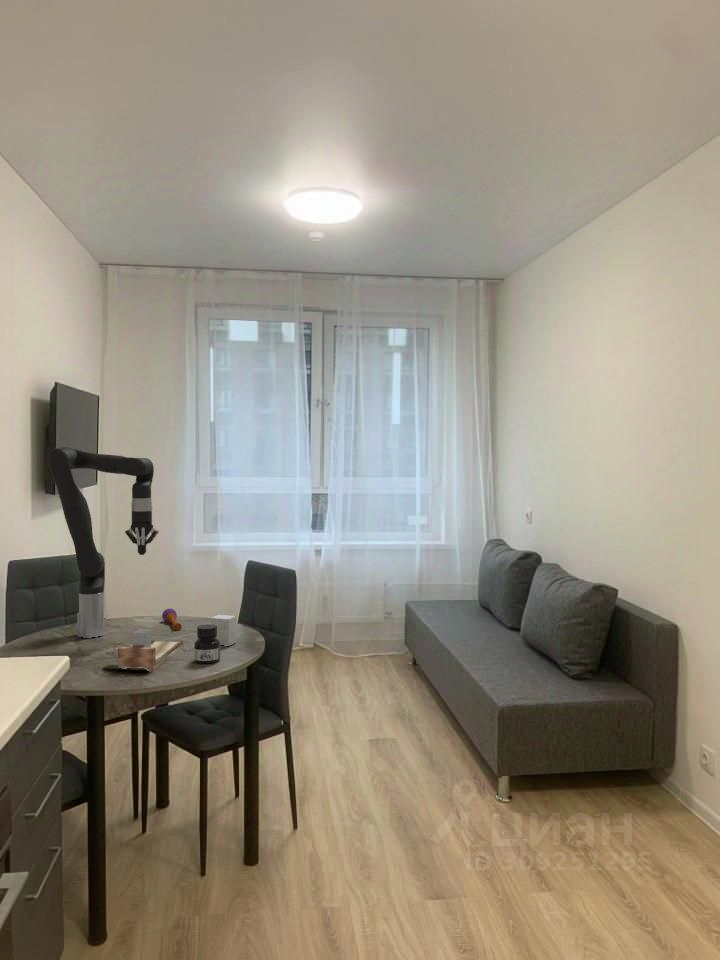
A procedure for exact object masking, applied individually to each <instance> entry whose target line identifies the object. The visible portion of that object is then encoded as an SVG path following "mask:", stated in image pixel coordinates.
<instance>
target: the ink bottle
mask: <svg viewBox="0 0 720 960" xmlns="http://www.w3.org/2000/svg"><path fill="white" fill-rule="evenodd" d="M196 637H197V639H196V640H195V641H194V643H193V647H194V648H193V652H194V653H193V661H194V662H195V663H197V664H201V665H202V664H203V665H207V664H215V663H217V662H219V661H220V660H221V646H220V641H219V640H218V639H217V638H216V637H217V626H216V625H212V624H211V623H208V624H207V623H206V624H201V625H198V626H197V628H196Z"/></svg>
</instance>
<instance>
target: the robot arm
mask: <svg viewBox="0 0 720 960" xmlns="http://www.w3.org/2000/svg"><path fill="white" fill-rule="evenodd" d="M46 461H47V465H48V467H49V471H50V473H51V476H52V478H53V481H54V483H55V486H56V489H57V493H58V497H59V499H60V504H61V507H62V511H63V514H64V515H63V516H64V519H65V522H66V525H67V528H68V531H69V534H70V537H71V539H72V543H73V546H74V551H75V556H76V558H75V559H76V564H77V568H78V571H79V586H78V602H79V603H78V605H79V606H78V608H79V609H78V610H79V611H78V612H77V613H76V625H77V626H76V629H77V630H76V632H77V633H76V637H77V636H78V637H77V638H81V637H83V638H84V639H93V638H92V637H96V638H99V637H98V636H101V637H103V636H105V581H106V579H105V576H106V575H105V574H106V572H105V571H106V570H105V569H106V567H105V566H106V565H105V564H106V563H105V557H104V555H103V554H102V553H101V552H99V551H98V550H97V547H96V544H95V540H94V535H93V522H92V515H91V512H90V508H89V504H88V502H87V499H86V498H85V496H84V494H83V493H82V491H81V490H80V489H79V487H78V485H77V484H76V482H75V480H74V476H73V473H72V470H77V469H78V470H80V469H87V470H89V469H90V470H95V471H99V472H102V473H107V474H117V475H126V476H133V477H135V482H134V483H133V484H132V485H131V486H132V487H131V497H132V498H131V524H130V528H129V529H127V530H125V531H124V533H125V535H126V536H127V537H128V538H129V539H130V541H131V543H132V544H135V545H137V554H138V555H140V556H144V555H145V554H147V545H148V544H151V543H152V541H154V540H155V538H156V536H157V535H158V534H159V530H157V529H155V528H154V525H153V502H152V484H153V478H154V471H155V470H154V469H155V467H154V464H153V461H152V460H151V459H149V458H147V457H131V456H129V457H128V456H123V455H116V454H105V453H104V454H102V453H92V452H86V451H83V450H79V449H76V448H73V447H68V446H64V447H55V448H53V449H51V450H50V451H49V452H48V454H47V459H46ZM149 534H150V535H149ZM148 536H149V537H148ZM102 635H103V636H102ZM83 638H82V639H83Z"/></svg>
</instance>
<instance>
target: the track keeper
mask: <svg viewBox="0 0 720 960" xmlns="http://www.w3.org/2000/svg"><path fill="white" fill-rule="evenodd" d="M151 629H152V628H138V629H137V630H134V631H133V632H132V647H151V640H152V634H151V633H152V630H151Z"/></svg>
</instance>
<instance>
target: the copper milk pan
mask: <svg viewBox="0 0 720 960" xmlns="http://www.w3.org/2000/svg"><path fill="white" fill-rule="evenodd" d="M184 647H185V642H184V640H180V641H155V639H151V647H133V646H119V647H118V648H117V669H118V668H122V669H127V668H144V669H146V670H147V671H149V672H150V673H151V672H152V673H153V672H155V671H156V670H157V669H159V668H160V667H161V666H162V665H164V664H165V663H166V662H168V660H169V659H171V658H172V657H173V656H174V655H176V654H177V653H178V652H179V651H181V650H182V648H184Z"/></svg>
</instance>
